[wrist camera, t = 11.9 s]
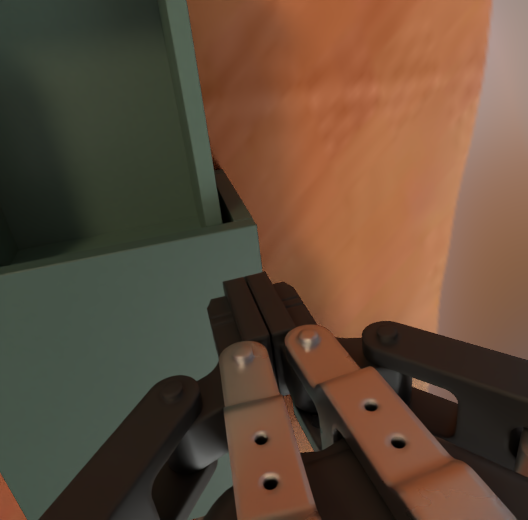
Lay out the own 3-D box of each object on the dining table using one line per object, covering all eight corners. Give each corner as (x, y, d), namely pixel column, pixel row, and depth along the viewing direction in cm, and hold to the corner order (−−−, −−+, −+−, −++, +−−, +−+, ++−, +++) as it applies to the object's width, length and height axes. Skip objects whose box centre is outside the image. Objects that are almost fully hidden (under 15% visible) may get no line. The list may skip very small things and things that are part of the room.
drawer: (-247, -315, 16) (-529, -570, 9) (136, -314, 18) (134, -519, 12) (0, 258, 27) (-48, 334, 20) (222, 216, 29) (247, 271, 23)
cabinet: (-26, 211, 27) (-103, 294, 18) (222, 168, 29) (256, 224, 20) (72, 435, 35) (51, 562, 27) (256, 387, 38) (290, 490, 29)
